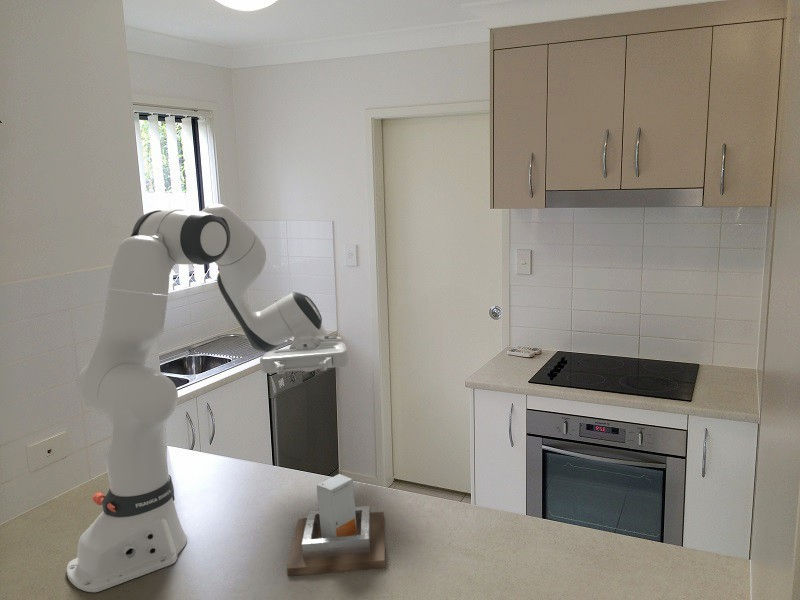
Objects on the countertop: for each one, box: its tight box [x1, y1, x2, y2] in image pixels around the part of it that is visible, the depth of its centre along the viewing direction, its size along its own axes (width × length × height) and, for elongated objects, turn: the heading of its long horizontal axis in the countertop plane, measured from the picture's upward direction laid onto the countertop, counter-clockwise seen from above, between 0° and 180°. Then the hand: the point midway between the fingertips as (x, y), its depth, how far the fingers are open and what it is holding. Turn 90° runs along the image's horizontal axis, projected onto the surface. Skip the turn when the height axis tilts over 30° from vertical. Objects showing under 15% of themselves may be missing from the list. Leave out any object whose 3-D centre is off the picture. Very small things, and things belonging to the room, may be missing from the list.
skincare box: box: [316, 473, 357, 538], centre depth 132 cm, size 6×4×12 cm
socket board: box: [286, 505, 386, 577], centre depth 133 cm, size 18×18×4 cm
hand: (301, 368), depth 150 cm, fingers open, 8 cm apart
